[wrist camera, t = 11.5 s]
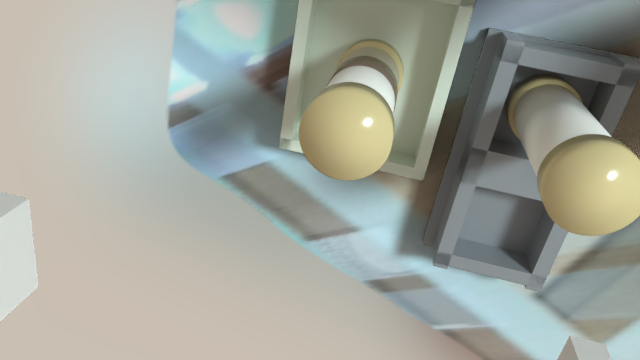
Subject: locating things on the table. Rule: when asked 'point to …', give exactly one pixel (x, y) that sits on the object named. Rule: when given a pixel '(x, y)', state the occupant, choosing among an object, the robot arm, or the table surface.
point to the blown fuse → (354, 113)
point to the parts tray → (414, 49)
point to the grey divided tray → (514, 158)
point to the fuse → (574, 158)
